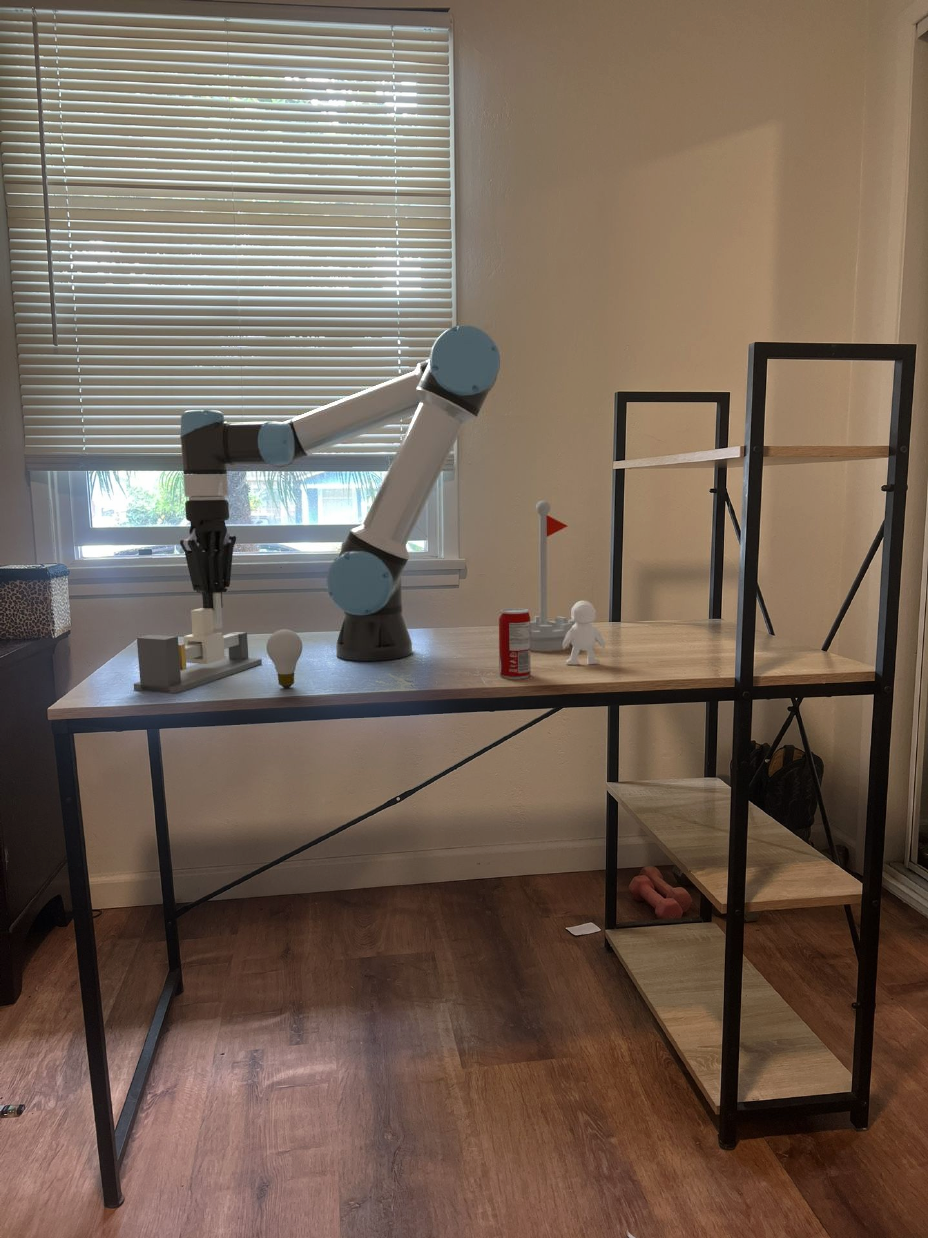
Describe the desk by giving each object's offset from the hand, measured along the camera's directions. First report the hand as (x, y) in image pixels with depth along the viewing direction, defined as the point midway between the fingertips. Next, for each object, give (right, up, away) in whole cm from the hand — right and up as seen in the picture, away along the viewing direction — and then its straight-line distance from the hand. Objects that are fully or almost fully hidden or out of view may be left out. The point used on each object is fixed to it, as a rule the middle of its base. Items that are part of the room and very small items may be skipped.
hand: (214, 627), depth 154 cm
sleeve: (-1, -6, -2) cm, 6 cm away
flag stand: (+63, -4, +20) cm, 66 cm away
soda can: (+55, -9, -7) cm, 56 cm away
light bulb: (+16, -10, -13) cm, 23 cm away
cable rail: (-1, -9, -3) cm, 9 cm away
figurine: (+68, -7, +2) cm, 69 cm away
